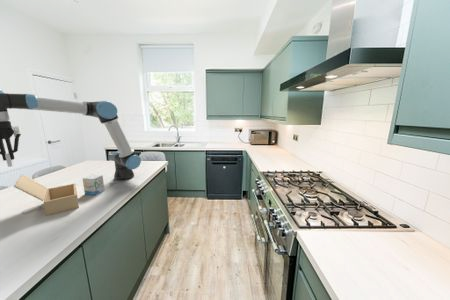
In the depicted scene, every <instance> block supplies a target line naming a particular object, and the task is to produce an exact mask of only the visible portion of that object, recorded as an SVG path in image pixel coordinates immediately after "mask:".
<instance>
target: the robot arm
mask: <svg viewBox="0 0 450 300" xmlns="http://www.w3.org/2000/svg"><path fill="white" fill-rule="evenodd" d="M8 109H10V110H11V109H14V110H15V109H17V110H33V111H44V112H45V111H46V112H56V113H57V112H58V113H68V114H69V113H70V114H79V115H81V114H82V115H83V116H87V117H94V118H98V121H99V122H100V124H102V125H104V126H105V128H106V130H107V132H108V133H109V136H110V137H111V140H112V142H113V144H114V146H115V147H116V149H117V151H115V152H113V159H114V167H115V170H114V175H113V179H114V180H115V181H125V180H130V179H133V178H134V177H135V173H134V171H133V170H136V169H137V168H139V167H140V165H141V163H142V160H141V157H140V156H139V155H138V154H136V153H137V152H136V150H135V149H134V148H131V146H130V144H129V141H128V139H127V138H126V135H125V133H124V132H123V129H122V127H121V125H120V123H119V121H118V119H119V116H118V108H117V105H115V104H114V103H113V102H112V101H108V100H99V101H83V102H78V101H71V100H61V99H53V98H44V97H37V95H36V94H32V93H30V94H29V93H5V92H4V90H3V89H1V88H0V155H1V156H2V161H6V164H7V167H9V168H10V167H13V166H14V163H13V161H14V159H15V155H14V153H17V152H18V150H19V142H20V141H19V140H20V137H21V136H22V134H21V133H19V132H15V130H14V129H13V127H12V123H11V121H10V120H11V119H10V115H9V111H8ZM12 137H14V142H13V146H12V143H11V138H12ZM4 141H5V144H6V147H5V145H4ZM6 148H7V151H8V153H7V152H6Z"/></svg>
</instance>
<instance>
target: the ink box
mask: <svg viewBox="0 0 450 300" xmlns="http://www.w3.org/2000/svg"><path fill="white" fill-rule="evenodd" d="M82 183H83V185H82V186H83V190H84V191H83V193H84V195H89V196H95V195H98V194H100V193H102V192H104V191H106V190H105V183H104V176H103V175H102V174H91V175H88V176H85V177H82Z"/></svg>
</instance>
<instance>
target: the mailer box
mask: <svg viewBox="0 0 450 300" xmlns="http://www.w3.org/2000/svg"><path fill="white" fill-rule="evenodd" d="M42 202H43V203H42V204H43V207H44V211H45V216H51V215H55V214H60V213H63V212H66V211H70V210H74V209H78V208H79V207H80V205H79V199H78V192H77V187H76V183H70V184H64V185H61V186H56V187H50V188H48V187H47V189H46V193H45V197H44V200H43V201H42Z"/></svg>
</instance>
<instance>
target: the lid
mask: <svg viewBox="0 0 450 300" xmlns="http://www.w3.org/2000/svg"><path fill="white" fill-rule="evenodd" d="M13 188H15V189H17V190H19V191H22V192H23V193H26V194H28V195H30V196H32V197H34V198H36V199H38V200H40V201H42V202H44V198H45V194H46V190H47V189H48V187H46V186H45V185H44V184H41V183H40V182H38V181H35V180H34V179H31V178H30V177H29V176H26V175H24V174H20V176H19V178H18V179H17V181H16V182H15V184H14V185H13Z"/></svg>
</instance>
